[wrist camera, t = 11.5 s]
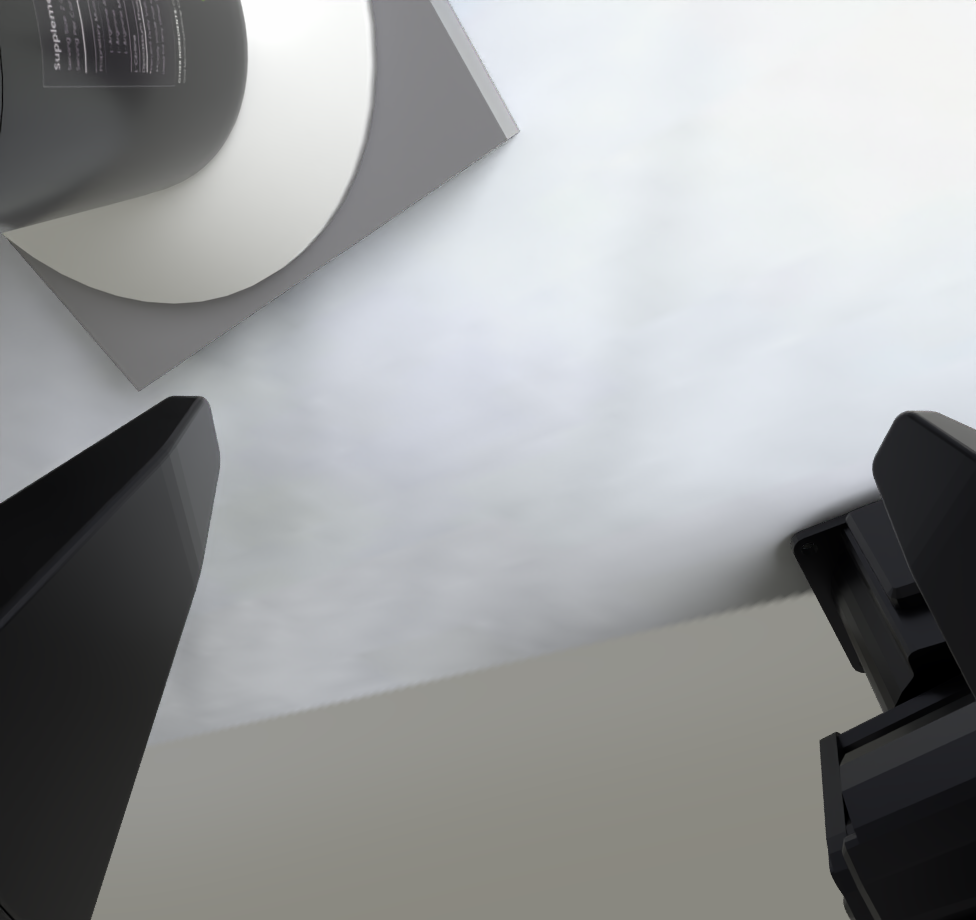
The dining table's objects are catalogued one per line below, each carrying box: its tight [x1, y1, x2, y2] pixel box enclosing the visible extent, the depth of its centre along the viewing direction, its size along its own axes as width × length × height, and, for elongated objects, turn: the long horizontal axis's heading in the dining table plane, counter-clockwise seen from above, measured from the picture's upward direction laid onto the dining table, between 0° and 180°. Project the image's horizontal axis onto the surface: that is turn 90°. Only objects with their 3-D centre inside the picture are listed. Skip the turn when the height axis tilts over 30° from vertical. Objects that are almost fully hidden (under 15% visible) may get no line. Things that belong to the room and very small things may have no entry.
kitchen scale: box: [2, 0, 520, 391], centre depth 17 cm, size 13×14×4 cm
